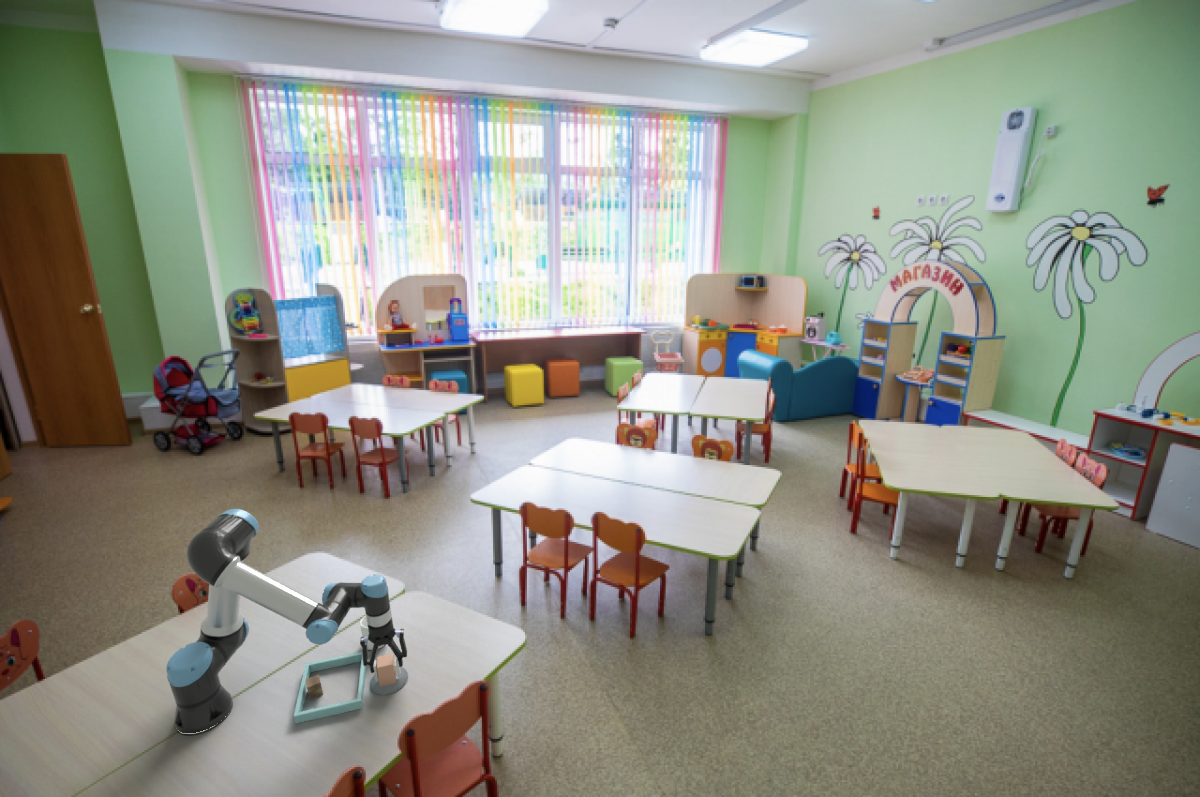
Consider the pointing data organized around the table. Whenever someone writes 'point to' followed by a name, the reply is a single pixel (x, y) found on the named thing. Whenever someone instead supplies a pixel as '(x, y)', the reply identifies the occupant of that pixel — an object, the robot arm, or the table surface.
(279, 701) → the table surface
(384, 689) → the grey dome puck
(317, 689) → the walnut block
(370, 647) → the cup
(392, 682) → the painted box
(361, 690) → the corral
